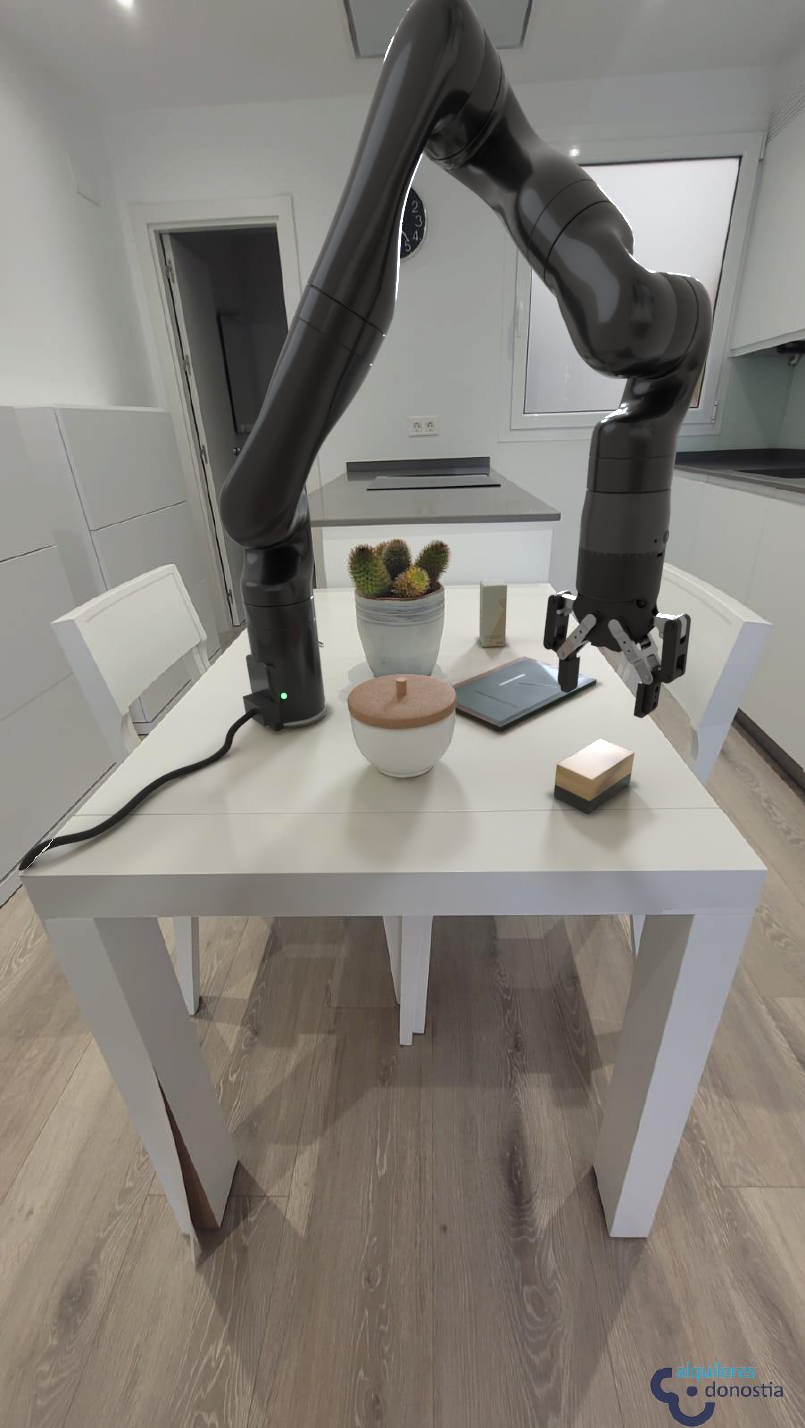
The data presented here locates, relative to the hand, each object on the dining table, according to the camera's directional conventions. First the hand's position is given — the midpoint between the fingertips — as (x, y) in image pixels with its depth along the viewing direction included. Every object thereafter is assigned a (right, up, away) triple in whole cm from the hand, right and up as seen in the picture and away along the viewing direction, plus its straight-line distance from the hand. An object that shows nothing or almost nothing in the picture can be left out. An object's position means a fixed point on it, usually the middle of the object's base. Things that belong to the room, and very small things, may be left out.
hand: (604, 702), depth 61 cm
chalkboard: (-4, +2, +28) cm, 29 cm away
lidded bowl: (-20, -7, +11) cm, 25 cm away
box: (-4, +12, +48) cm, 50 cm away
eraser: (0, -10, +4) cm, 11 cm away
